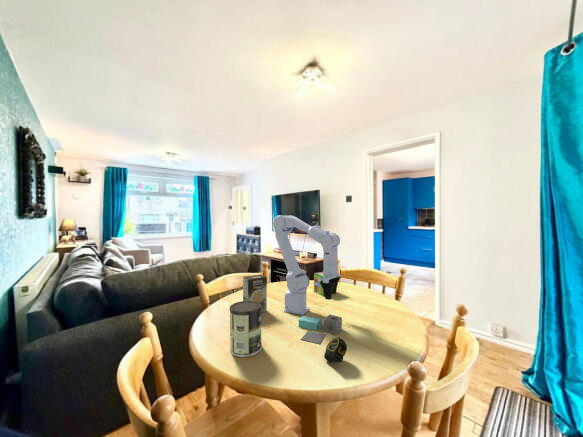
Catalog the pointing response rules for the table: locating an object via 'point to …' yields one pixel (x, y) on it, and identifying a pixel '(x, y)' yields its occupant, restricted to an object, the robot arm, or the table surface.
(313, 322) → the turquoise box
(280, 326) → the table surface
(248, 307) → the coffee can
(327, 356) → the tape measure
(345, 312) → the table surface
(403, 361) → the table surface
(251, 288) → the coffee box
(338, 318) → the dice cube
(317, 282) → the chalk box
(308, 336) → the stub pad
